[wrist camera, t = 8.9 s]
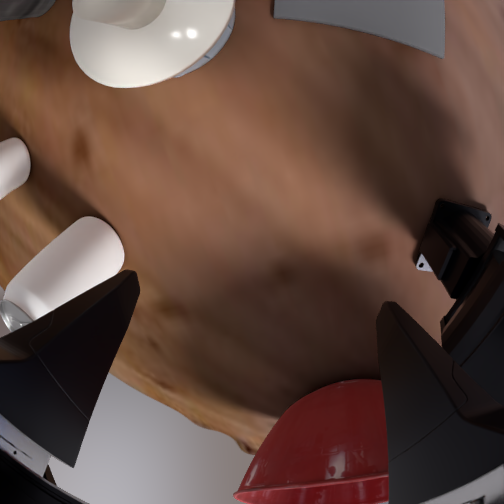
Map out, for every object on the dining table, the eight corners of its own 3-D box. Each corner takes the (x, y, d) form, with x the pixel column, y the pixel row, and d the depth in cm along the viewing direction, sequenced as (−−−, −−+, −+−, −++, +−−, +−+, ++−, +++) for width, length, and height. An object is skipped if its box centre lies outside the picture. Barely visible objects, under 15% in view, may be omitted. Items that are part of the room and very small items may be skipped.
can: (65, 218, 23) (-16, 292, 13) (113, 209, 22) (22, 298, 12) (88, 272, 27) (25, 354, 17) (135, 271, 26) (72, 369, 15)
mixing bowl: (232, 424, 42) (217, 504, 29) (285, 317, 26) (274, 479, 13) (374, 438, 42) (378, 506, 29) (477, 350, 27) (510, 444, 14)
